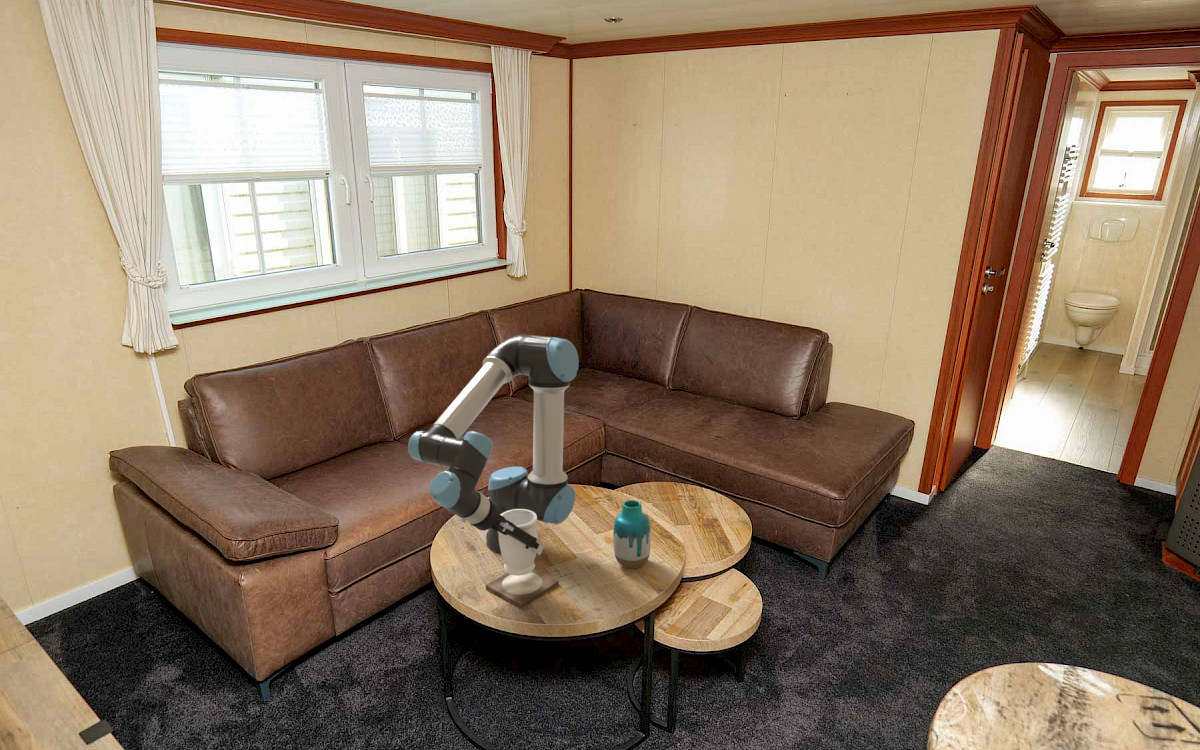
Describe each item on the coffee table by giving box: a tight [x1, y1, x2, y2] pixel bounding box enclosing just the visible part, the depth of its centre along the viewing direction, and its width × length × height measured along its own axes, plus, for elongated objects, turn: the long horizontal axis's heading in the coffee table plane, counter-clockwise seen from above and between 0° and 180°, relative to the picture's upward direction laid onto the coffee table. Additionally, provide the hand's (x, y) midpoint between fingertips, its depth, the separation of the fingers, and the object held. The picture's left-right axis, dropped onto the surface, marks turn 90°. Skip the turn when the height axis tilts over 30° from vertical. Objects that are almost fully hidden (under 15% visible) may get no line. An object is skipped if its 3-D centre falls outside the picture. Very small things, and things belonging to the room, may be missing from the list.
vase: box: [612, 499, 652, 569], centre depth 196 cm, size 11×11×19 cm
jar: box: [499, 509, 539, 576], centre depth 184 cm, size 11×10×15 cm
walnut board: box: [485, 568, 560, 609], centre depth 188 cm, size 14×14×1 cm
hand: (527, 543), depth 186 cm, fingers closed on jar, 10 cm apart
